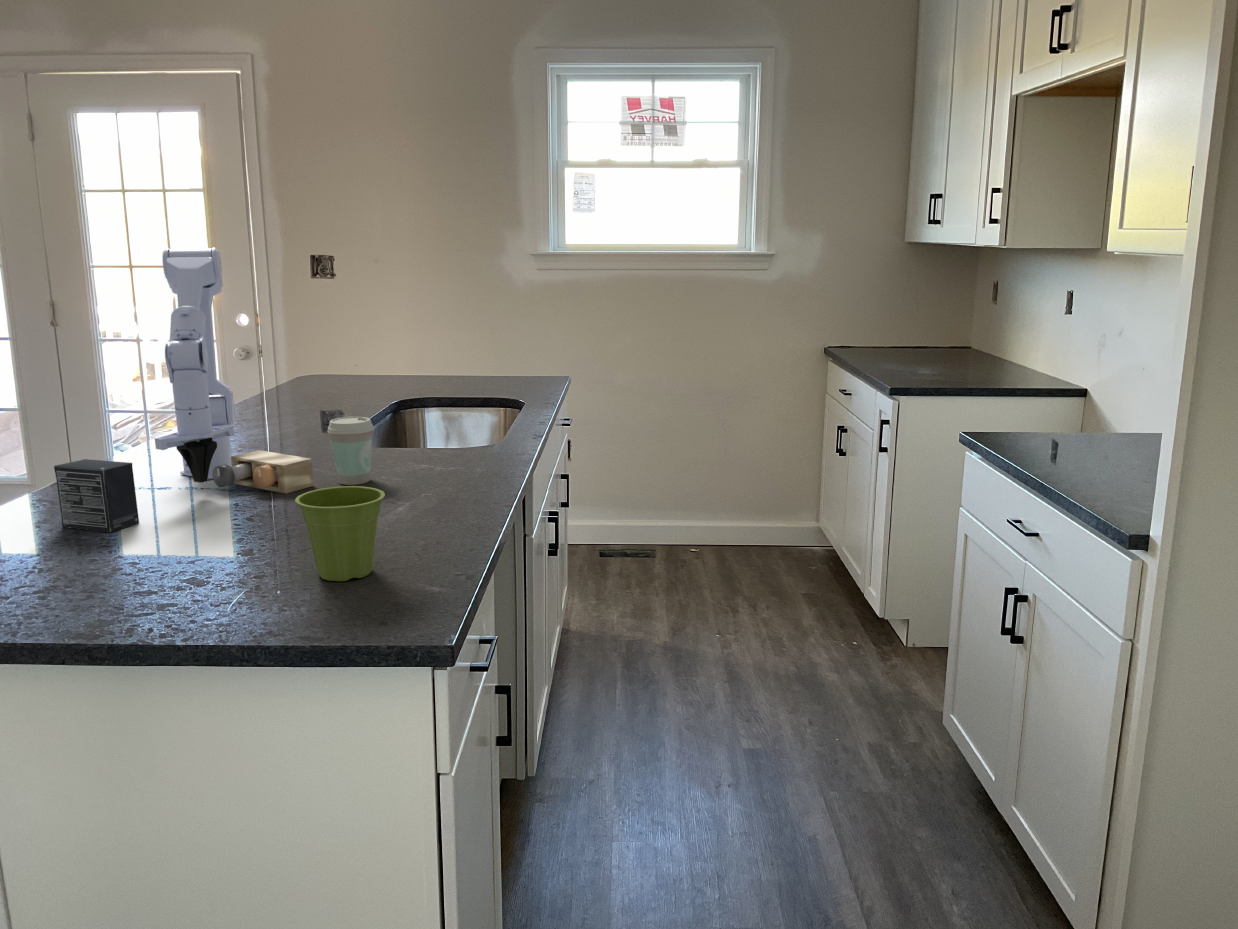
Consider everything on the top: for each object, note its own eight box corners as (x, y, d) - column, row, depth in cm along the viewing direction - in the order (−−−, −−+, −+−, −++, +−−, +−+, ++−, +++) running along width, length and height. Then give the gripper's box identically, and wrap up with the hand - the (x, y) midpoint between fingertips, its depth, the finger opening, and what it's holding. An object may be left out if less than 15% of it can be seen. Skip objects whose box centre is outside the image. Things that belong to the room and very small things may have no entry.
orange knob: (267, 489, 177) (265, 468, 176) (253, 486, 179) (251, 465, 178) (298, 481, 183) (296, 460, 182) (284, 479, 185) (282, 458, 184)
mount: (233, 483, 186) (230, 456, 185) (261, 476, 191) (259, 450, 190) (285, 493, 178) (283, 465, 177) (313, 485, 183) (311, 458, 182)
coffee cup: (365, 487, 182) (360, 424, 179) (323, 485, 184) (318, 423, 181) (384, 476, 190) (380, 416, 187) (344, 475, 192) (340, 415, 189)
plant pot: (389, 584, 131) (384, 504, 128) (297, 591, 128) (290, 510, 126) (390, 557, 142) (385, 482, 140) (306, 563, 140) (299, 487, 137)
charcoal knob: (226, 489, 178) (224, 467, 177) (212, 486, 180) (210, 465, 179) (258, 481, 183) (256, 460, 183) (244, 478, 186) (242, 458, 185)
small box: (142, 522, 161) (134, 461, 158) (110, 534, 155) (102, 470, 152) (93, 517, 164) (85, 457, 162) (60, 528, 158) (51, 465, 156)
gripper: (168, 415, 164) (177, 493, 167) (241, 403, 176) (249, 475, 179) (144, 412, 168) (153, 488, 171) (217, 400, 180) (224, 471, 183)
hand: (200, 481), depth 175 cm, fingers closed
